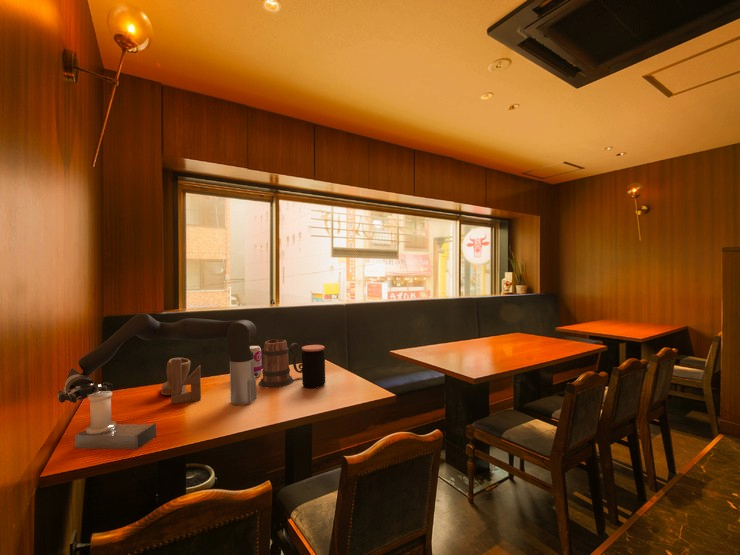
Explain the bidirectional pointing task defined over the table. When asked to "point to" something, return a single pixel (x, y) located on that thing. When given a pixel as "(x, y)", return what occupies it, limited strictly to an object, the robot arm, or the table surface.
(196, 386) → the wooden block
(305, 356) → the coffee jar
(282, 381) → the tankard
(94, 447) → the grey soap dish block
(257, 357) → the supplement can
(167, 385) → the stone cup
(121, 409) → the table surface
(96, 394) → the white flanged cylinder
